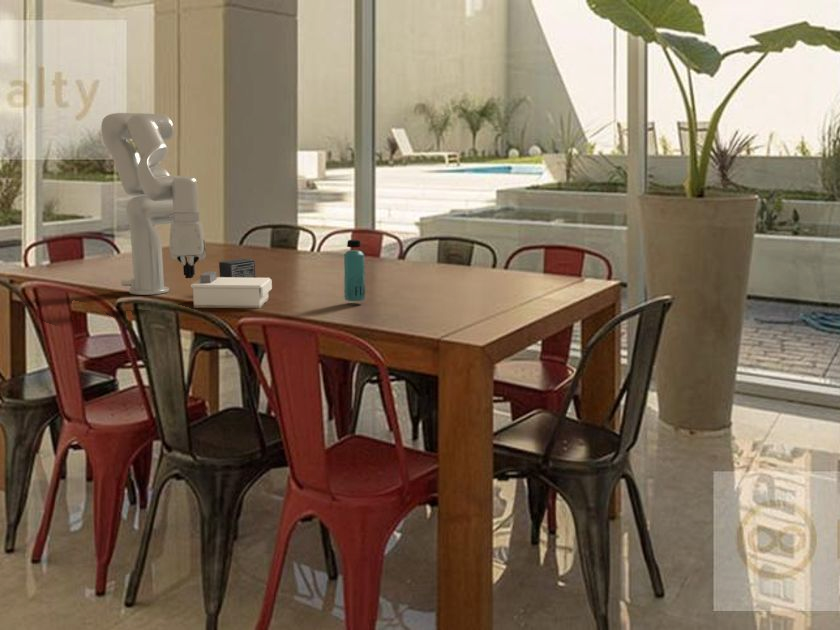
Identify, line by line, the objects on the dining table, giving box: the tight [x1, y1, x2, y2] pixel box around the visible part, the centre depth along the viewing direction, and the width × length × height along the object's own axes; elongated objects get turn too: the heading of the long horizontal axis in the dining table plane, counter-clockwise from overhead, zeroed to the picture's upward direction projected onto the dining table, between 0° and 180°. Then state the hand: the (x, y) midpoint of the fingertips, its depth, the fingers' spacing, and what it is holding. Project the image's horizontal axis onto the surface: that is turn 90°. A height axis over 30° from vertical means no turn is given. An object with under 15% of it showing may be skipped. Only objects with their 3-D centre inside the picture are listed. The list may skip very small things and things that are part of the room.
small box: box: [218, 258, 256, 278], centre depth 297 cm, size 11×6×10 cm, turn 141°
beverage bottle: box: [343, 239, 366, 302], centre depth 274 cm, size 6×7×20 cm
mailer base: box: [192, 288, 269, 309], centre depth 275 cm, size 20×14×6 cm
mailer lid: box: [190, 270, 273, 297], centre depth 275 cm, size 22×15×6 cm
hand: (189, 277), depth 275 cm, fingers closed
